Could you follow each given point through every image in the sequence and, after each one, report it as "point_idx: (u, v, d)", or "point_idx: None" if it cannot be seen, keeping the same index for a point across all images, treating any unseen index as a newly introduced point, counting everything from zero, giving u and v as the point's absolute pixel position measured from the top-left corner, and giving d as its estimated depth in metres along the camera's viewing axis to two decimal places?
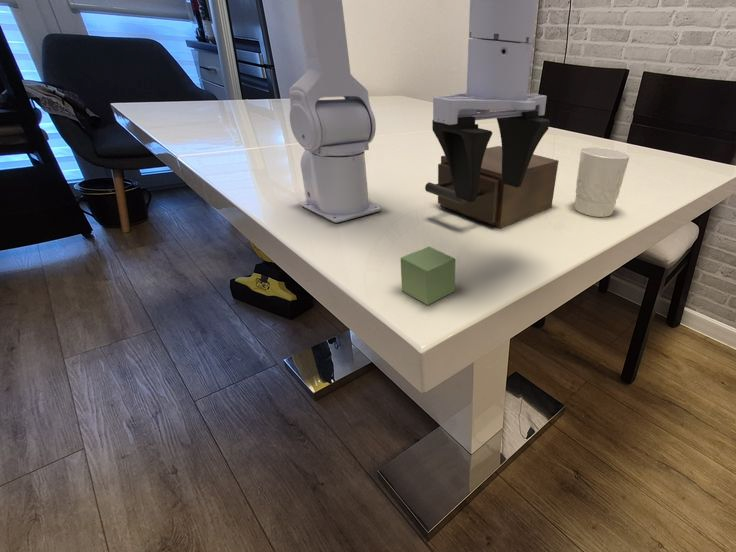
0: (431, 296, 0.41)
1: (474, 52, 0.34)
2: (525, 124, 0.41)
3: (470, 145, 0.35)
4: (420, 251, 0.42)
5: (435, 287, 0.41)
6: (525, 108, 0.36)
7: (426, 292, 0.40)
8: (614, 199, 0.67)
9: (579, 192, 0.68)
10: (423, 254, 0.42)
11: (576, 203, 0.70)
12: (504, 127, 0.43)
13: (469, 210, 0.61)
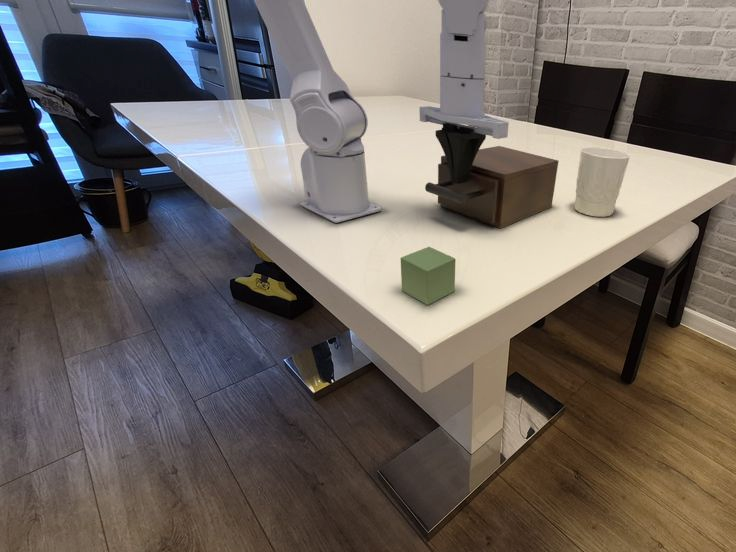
0: (431, 296, 0.41)
1: (475, 88, 0.51)
2: None
3: (482, 142, 0.56)
4: (420, 251, 0.42)
5: (435, 287, 0.41)
6: None
7: (426, 292, 0.40)
8: (614, 199, 0.67)
9: (579, 192, 0.68)
10: (423, 254, 0.42)
11: (576, 203, 0.70)
12: None
13: (469, 210, 0.61)
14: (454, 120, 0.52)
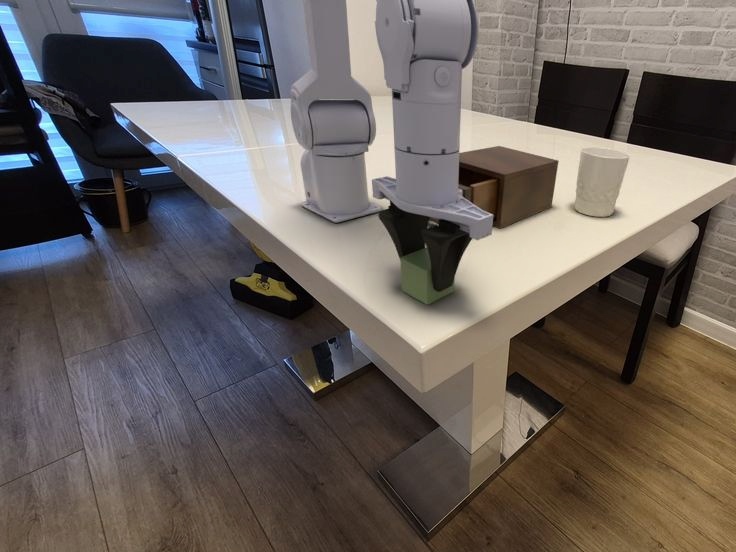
0: (431, 296, 0.41)
1: (445, 166, 0.35)
2: None
3: (472, 237, 0.39)
4: (419, 251, 0.42)
5: None
6: (461, 194, 0.41)
7: (426, 292, 0.40)
8: (614, 199, 0.67)
9: (579, 192, 0.68)
10: (423, 254, 0.42)
11: (576, 203, 0.70)
12: (400, 225, 0.40)
13: None
14: (415, 210, 0.36)
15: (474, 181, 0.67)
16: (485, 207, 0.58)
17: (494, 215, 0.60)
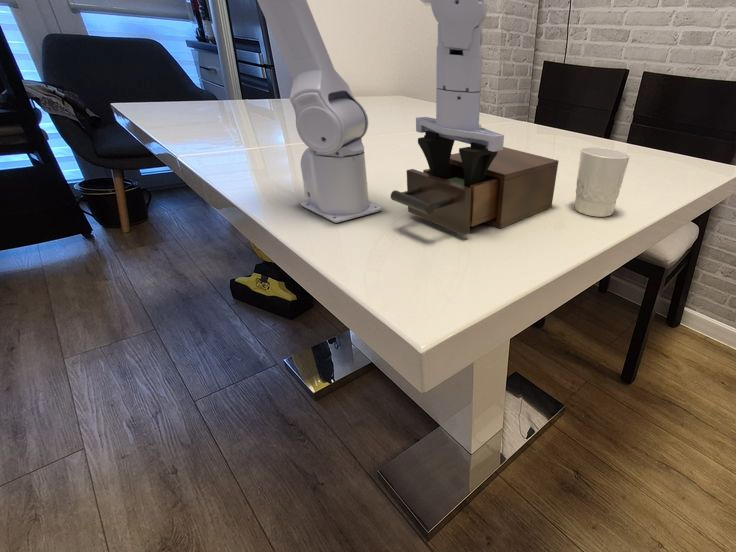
0: None
1: (471, 101, 0.51)
2: (447, 140, 0.58)
3: (493, 158, 0.55)
4: (450, 179, 0.59)
5: None
6: None
7: None
8: (614, 199, 0.67)
9: (579, 192, 0.68)
10: (452, 180, 0.59)
11: (576, 203, 0.70)
12: (433, 147, 0.56)
13: (439, 220, 0.57)
14: (450, 132, 0.52)
15: None
16: (485, 207, 0.58)
17: (494, 215, 0.60)
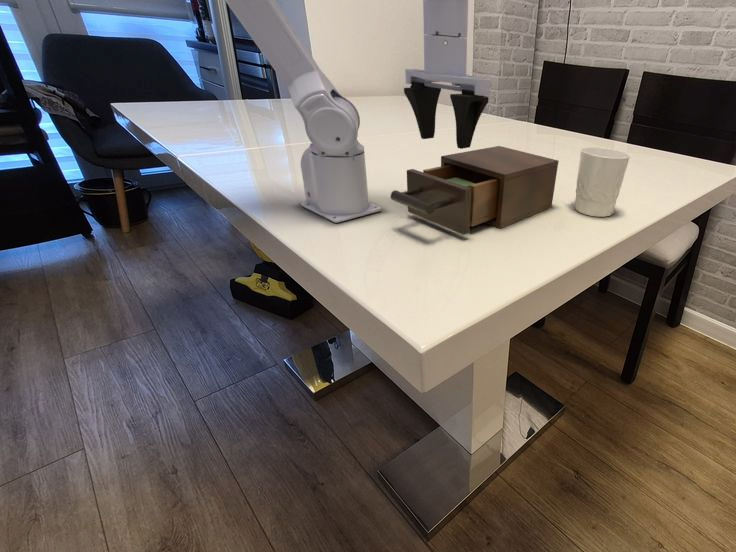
0: None
1: (458, 46, 0.52)
2: (432, 91, 0.60)
3: (484, 106, 0.56)
4: (450, 179, 0.59)
5: None
6: None
7: None
8: (614, 199, 0.67)
9: (579, 192, 0.68)
10: (452, 180, 0.59)
11: (576, 203, 0.70)
12: (419, 97, 0.58)
13: (439, 220, 0.57)
14: (437, 78, 0.53)
15: (474, 181, 0.67)
16: (485, 207, 0.58)
17: (494, 215, 0.60)
